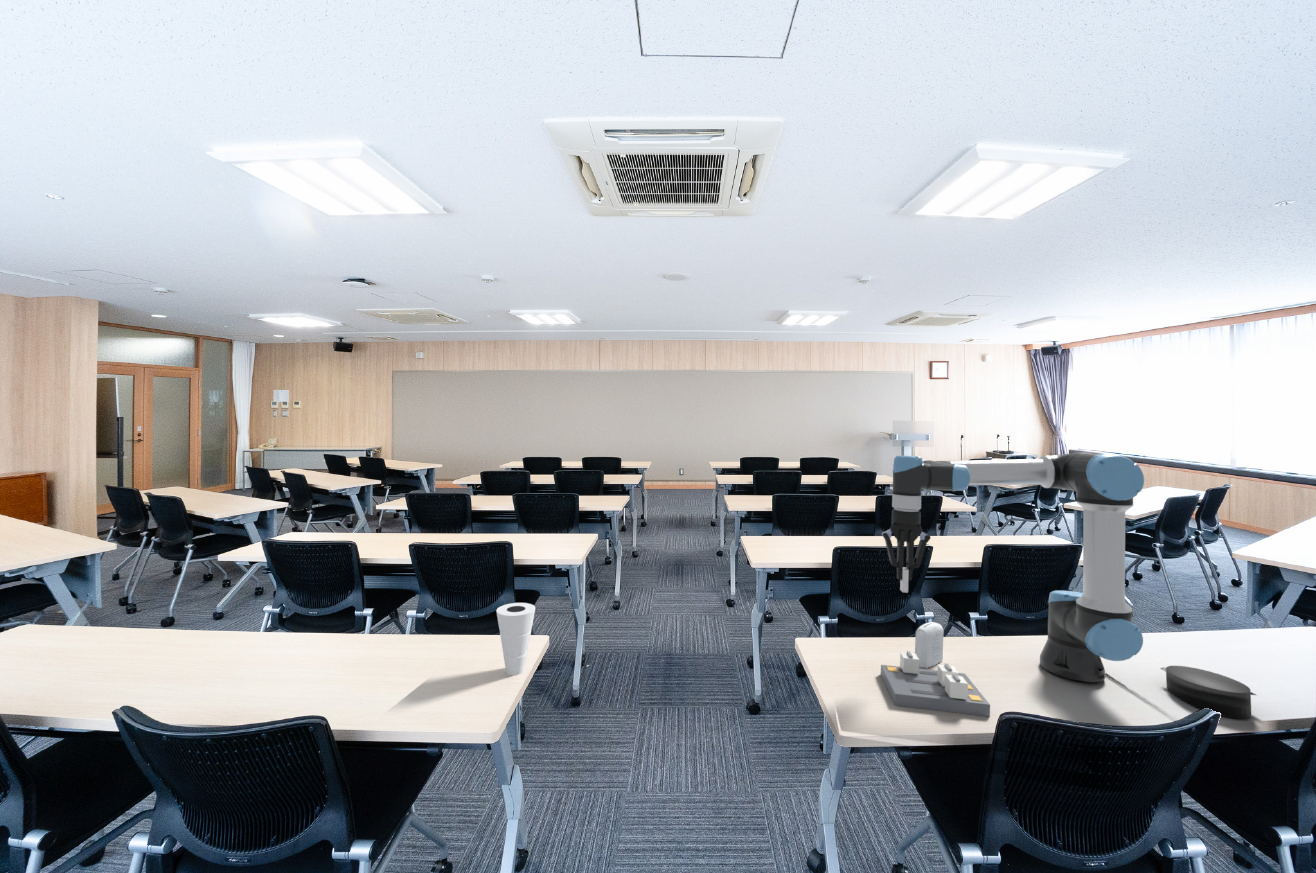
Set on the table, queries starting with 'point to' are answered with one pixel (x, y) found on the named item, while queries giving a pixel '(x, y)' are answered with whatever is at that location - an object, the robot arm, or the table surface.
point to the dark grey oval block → (1209, 691)
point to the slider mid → (945, 672)
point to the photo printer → (929, 644)
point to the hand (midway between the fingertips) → (904, 590)
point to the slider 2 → (956, 686)
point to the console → (930, 692)
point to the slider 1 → (909, 662)
